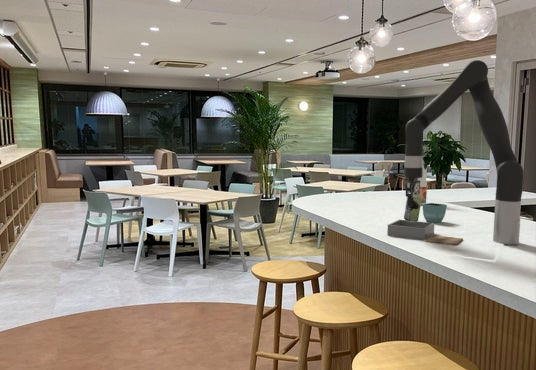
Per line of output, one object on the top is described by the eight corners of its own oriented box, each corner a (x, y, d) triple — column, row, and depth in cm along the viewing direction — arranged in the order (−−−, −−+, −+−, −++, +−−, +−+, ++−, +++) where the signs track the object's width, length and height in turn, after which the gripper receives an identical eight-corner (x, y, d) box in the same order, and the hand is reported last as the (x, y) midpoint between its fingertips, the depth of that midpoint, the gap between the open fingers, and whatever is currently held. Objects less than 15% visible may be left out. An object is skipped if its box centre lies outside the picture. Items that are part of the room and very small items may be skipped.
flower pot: (429, 220, 241) (430, 202, 240) (446, 222, 235) (447, 204, 234) (421, 222, 235) (421, 204, 234) (438, 224, 229) (439, 206, 228)
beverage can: (407, 219, 210) (407, 192, 209) (423, 221, 206) (424, 194, 205) (401, 221, 206) (401, 194, 204) (417, 223, 201) (418, 195, 200)
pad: (462, 239, 196) (462, 238, 196) (456, 245, 186) (456, 244, 186) (432, 236, 202) (432, 235, 202) (425, 241, 192) (425, 240, 192)
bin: (434, 233, 208) (434, 223, 208) (424, 239, 195) (424, 228, 195) (398, 229, 217) (399, 219, 216) (387, 235, 204) (387, 224, 203)
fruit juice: (408, 204, 294) (410, 159, 292) (424, 204, 293) (426, 159, 291) (411, 206, 285) (413, 160, 282) (427, 207, 284) (429, 160, 281)
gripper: (417, 167, 195) (416, 208, 197) (426, 165, 207) (425, 204, 209) (399, 167, 199) (398, 207, 201) (409, 165, 211) (408, 202, 213)
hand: (412, 205), depth 205 cm, fingers closed on beverage can, 6 cm apart
